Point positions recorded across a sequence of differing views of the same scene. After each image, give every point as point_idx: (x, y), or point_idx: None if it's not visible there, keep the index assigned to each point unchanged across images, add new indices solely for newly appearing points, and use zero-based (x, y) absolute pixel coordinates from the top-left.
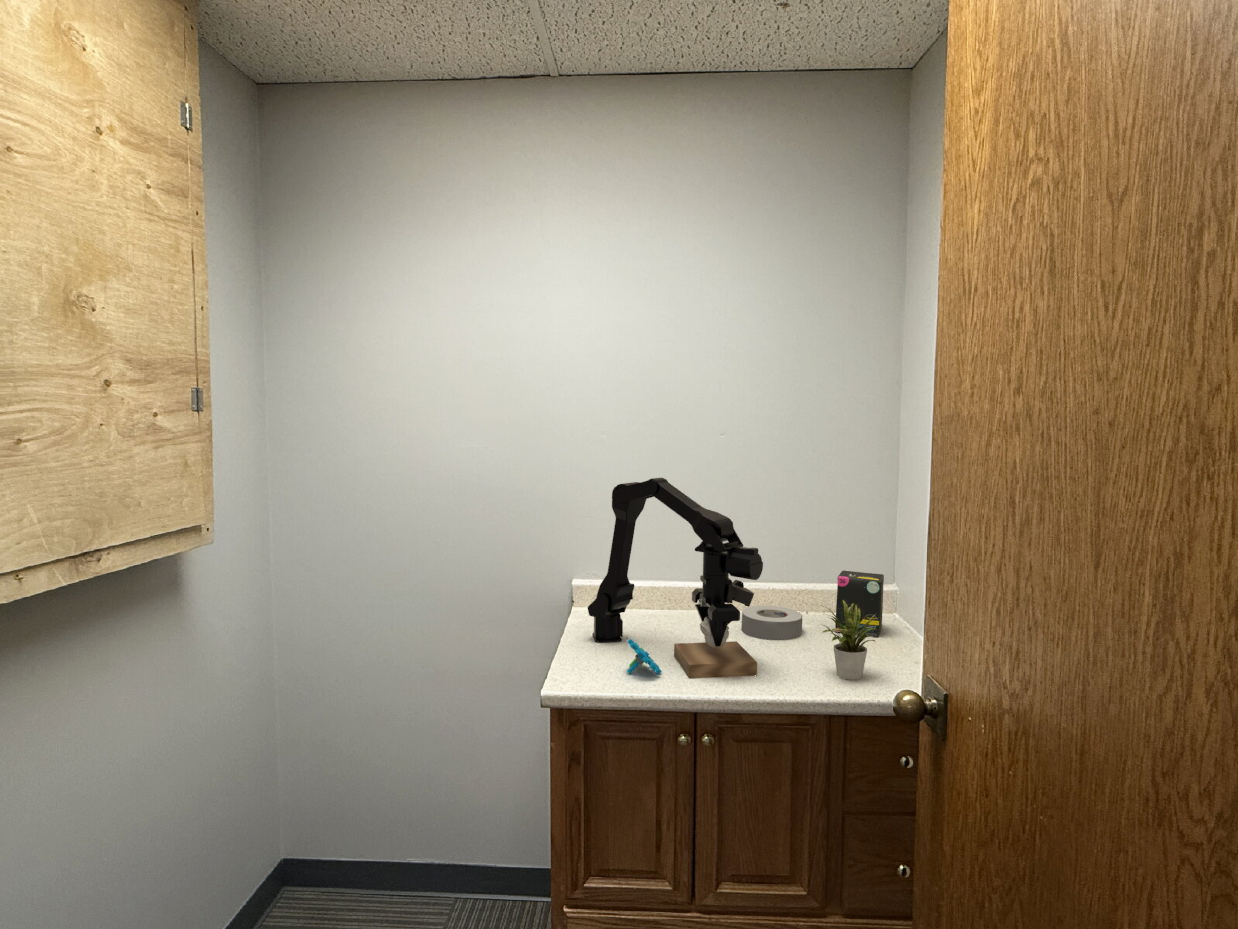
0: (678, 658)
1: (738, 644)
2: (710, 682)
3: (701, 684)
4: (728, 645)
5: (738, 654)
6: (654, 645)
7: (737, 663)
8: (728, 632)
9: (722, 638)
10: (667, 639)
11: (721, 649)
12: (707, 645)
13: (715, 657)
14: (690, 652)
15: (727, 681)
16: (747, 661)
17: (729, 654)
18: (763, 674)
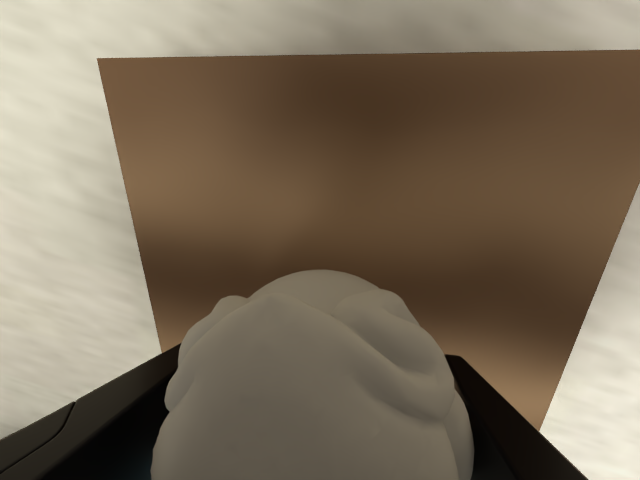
0: None
1: (173, 69)
2: (581, 359)
3: (587, 400)
4: (199, 160)
5: (420, 156)
6: (88, 389)
7: (615, 233)
8: (410, 334)
9: (518, 415)
10: (8, 328)
11: (284, 239)
12: (203, 293)
13: (442, 331)
14: None
15: (608, 283)
16: (631, 142)
17: (404, 224)
18: (595, 4)
